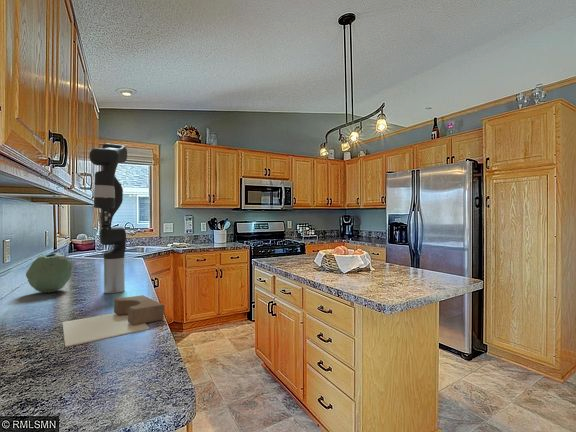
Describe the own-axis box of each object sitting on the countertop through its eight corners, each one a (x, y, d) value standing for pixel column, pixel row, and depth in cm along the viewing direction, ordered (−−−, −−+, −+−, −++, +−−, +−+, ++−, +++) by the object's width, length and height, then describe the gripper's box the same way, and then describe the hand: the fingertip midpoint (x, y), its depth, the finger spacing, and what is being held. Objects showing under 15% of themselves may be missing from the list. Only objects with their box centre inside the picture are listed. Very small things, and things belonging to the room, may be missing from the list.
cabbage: (25, 292, 156) (25, 253, 156) (70, 286, 168) (70, 250, 168) (26, 298, 144) (26, 256, 144) (74, 291, 156) (74, 252, 157)
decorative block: (113, 312, 118) (132, 325, 104) (114, 298, 118) (133, 308, 105) (142, 308, 126) (163, 320, 112) (143, 295, 126) (165, 304, 112)
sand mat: (62, 323, 109) (62, 322, 109) (133, 310, 123) (133, 309, 123) (65, 347, 89) (65, 346, 89) (149, 329, 103) (149, 327, 103)
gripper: (92, 196, 130) (92, 237, 130) (95, 195, 119) (95, 240, 119) (112, 197, 134) (112, 236, 135) (117, 196, 124) (116, 239, 124)
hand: (104, 238), depth 127 cm, fingers closed
